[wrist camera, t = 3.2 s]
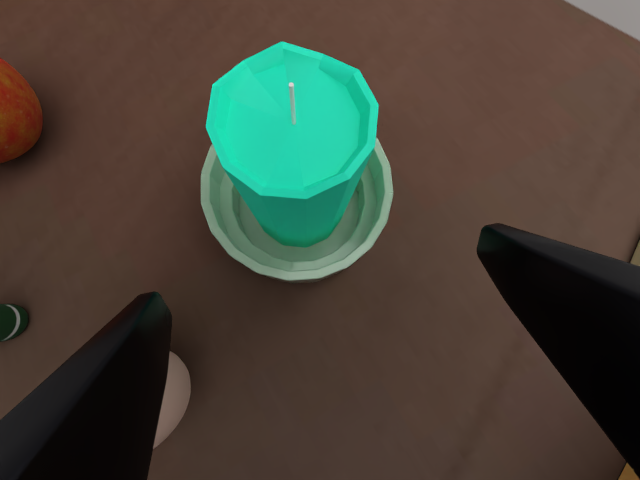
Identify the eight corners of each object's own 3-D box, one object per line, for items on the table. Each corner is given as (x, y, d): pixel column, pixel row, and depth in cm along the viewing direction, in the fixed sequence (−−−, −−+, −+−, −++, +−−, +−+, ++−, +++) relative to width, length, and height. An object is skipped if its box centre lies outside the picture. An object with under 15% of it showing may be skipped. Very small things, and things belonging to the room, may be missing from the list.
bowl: (323, 313, 20) (328, 319, 15) (191, 229, 20) (160, 210, 16) (401, 185, 22) (425, 157, 17) (278, 111, 22) (271, 66, 18)
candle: (360, 212, 21) (433, 102, 9) (292, 266, 20) (271, 224, 8) (306, 148, 21) (307, -33, 10) (237, 198, 20) (145, 65, 9)
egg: (108, 417, 18) (-8, 490, 11) (135, 330, 19) (43, 350, 12) (192, 434, 18) (126, 517, 11) (215, 346, 19) (166, 375, 12)
